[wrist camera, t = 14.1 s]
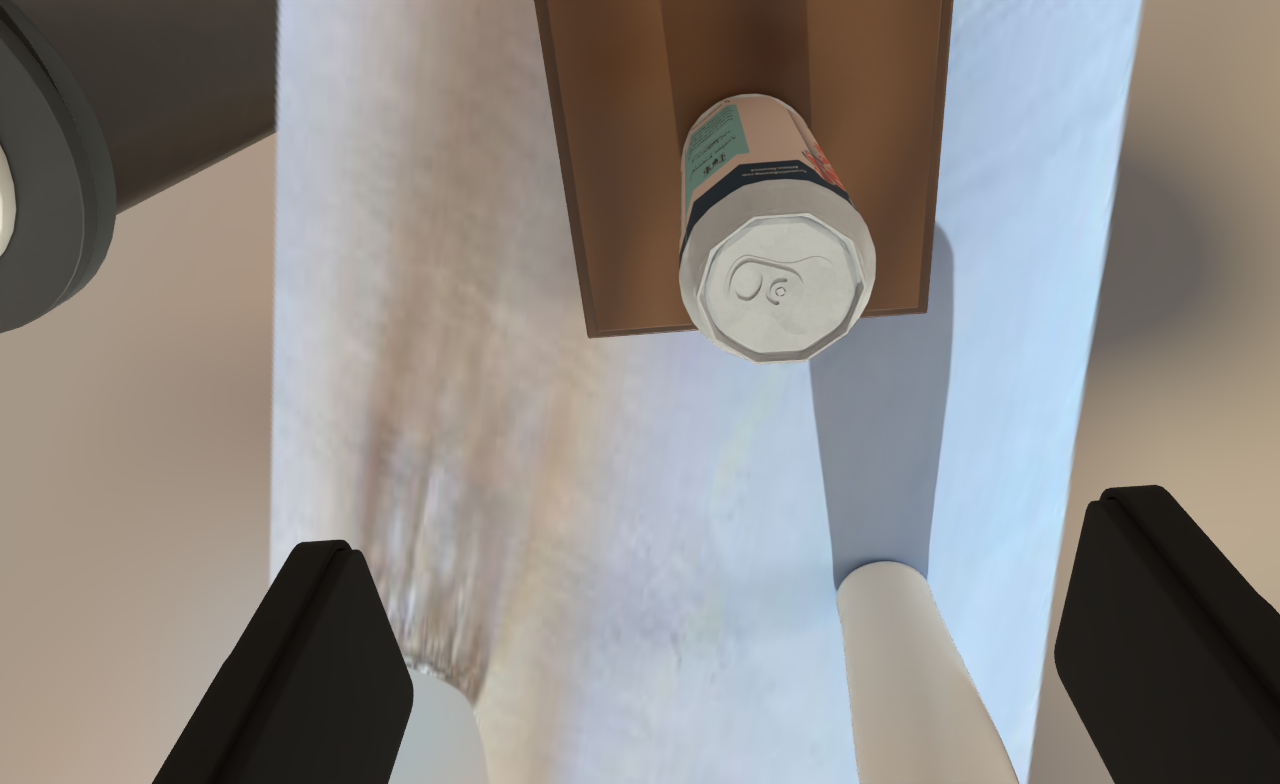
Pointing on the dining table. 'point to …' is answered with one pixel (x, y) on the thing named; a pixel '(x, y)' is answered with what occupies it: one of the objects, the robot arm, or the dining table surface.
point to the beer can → (768, 235)
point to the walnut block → (722, 68)
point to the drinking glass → (912, 687)
